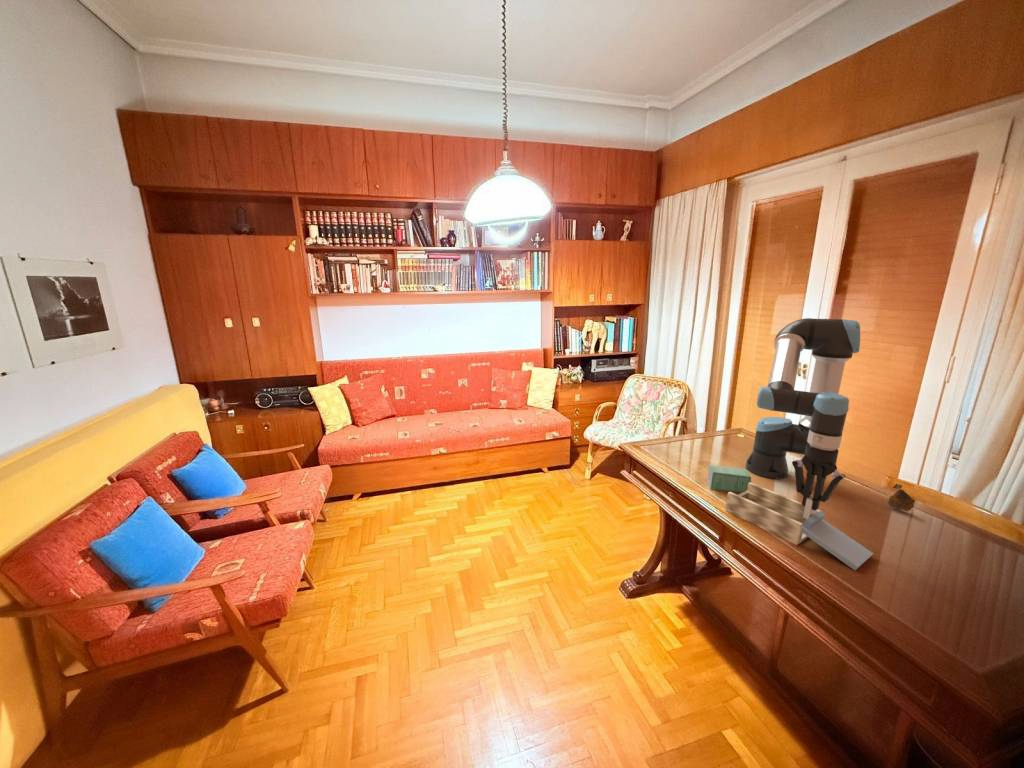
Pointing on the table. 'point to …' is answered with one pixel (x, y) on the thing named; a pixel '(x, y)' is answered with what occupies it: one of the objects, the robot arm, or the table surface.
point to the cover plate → (835, 541)
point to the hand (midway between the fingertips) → (807, 517)
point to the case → (769, 512)
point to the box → (728, 478)
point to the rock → (901, 499)
